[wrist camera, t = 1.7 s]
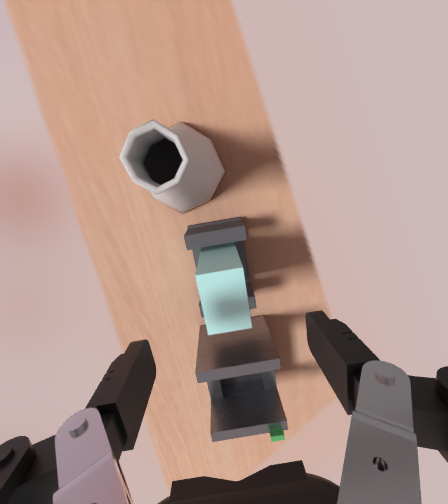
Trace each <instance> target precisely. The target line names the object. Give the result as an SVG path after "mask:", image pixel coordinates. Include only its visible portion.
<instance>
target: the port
mask: <svg viewBox="0 0 448 504" xmlns="http://www.w3.org/2000/svg"><path fill="white" fill-rule="evenodd" d="M251 324H252V328H249V329H243V330H237V331H231V332H225V333H219V334H213V335H208V332H207V327H206V325H203V326H200V331H199V342H198V352H197V362H196V372H195V373H196V377H197V381H198V383H202V382H207V384H208V388H209V392H210V397H211V437H212V441H213V442H215V441H221V440H227V439H233V438H239V437H245V436H251V435H257V434H263V433H270V437H271V442H273V441H279V440H285V438H284V432H283V430H288V426H287V419H286V416H285V413H284V410H283V406H282V403H281V400H280V397H279V393H278V390H277V386H276V378H275V370H279V369H281V366H280V358H279V355H278V353H277V350H276V347H275V345H274V342H273V339H272V337H271V334H270V331H269V329H268V326H267V324H266V321H265V318H264V316H263V315H262V316H256V317H251Z"/></svg>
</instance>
